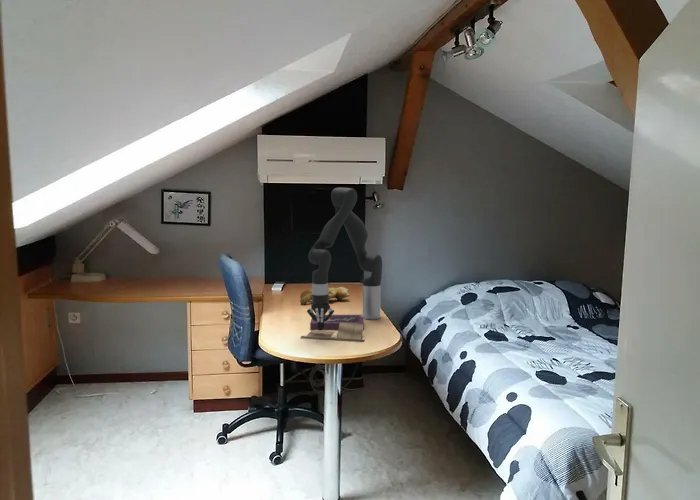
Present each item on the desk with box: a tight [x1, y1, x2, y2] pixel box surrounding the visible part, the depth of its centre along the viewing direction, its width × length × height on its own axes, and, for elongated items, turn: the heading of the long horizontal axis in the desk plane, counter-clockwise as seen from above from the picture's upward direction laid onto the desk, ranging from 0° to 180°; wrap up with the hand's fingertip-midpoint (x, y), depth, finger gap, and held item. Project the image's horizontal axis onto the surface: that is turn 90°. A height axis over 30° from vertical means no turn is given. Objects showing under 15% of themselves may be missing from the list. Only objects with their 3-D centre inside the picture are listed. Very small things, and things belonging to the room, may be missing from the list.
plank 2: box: [335, 323, 365, 339], centre depth 244 cm, size 9×11×1 cm
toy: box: [300, 286, 351, 305], centre depth 319 cm, size 14×9×30 cm
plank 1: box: [306, 330, 335, 338], centre depth 248 cm, size 9×11×1 cm
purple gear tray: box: [309, 313, 365, 331], centre depth 264 cm, size 25×16×5 cm, turn 90°
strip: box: [299, 335, 365, 343], centre depth 241 cm, size 3×29×2 cm, turn 78°
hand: (320, 329), depth 249 cm, fingers closed
